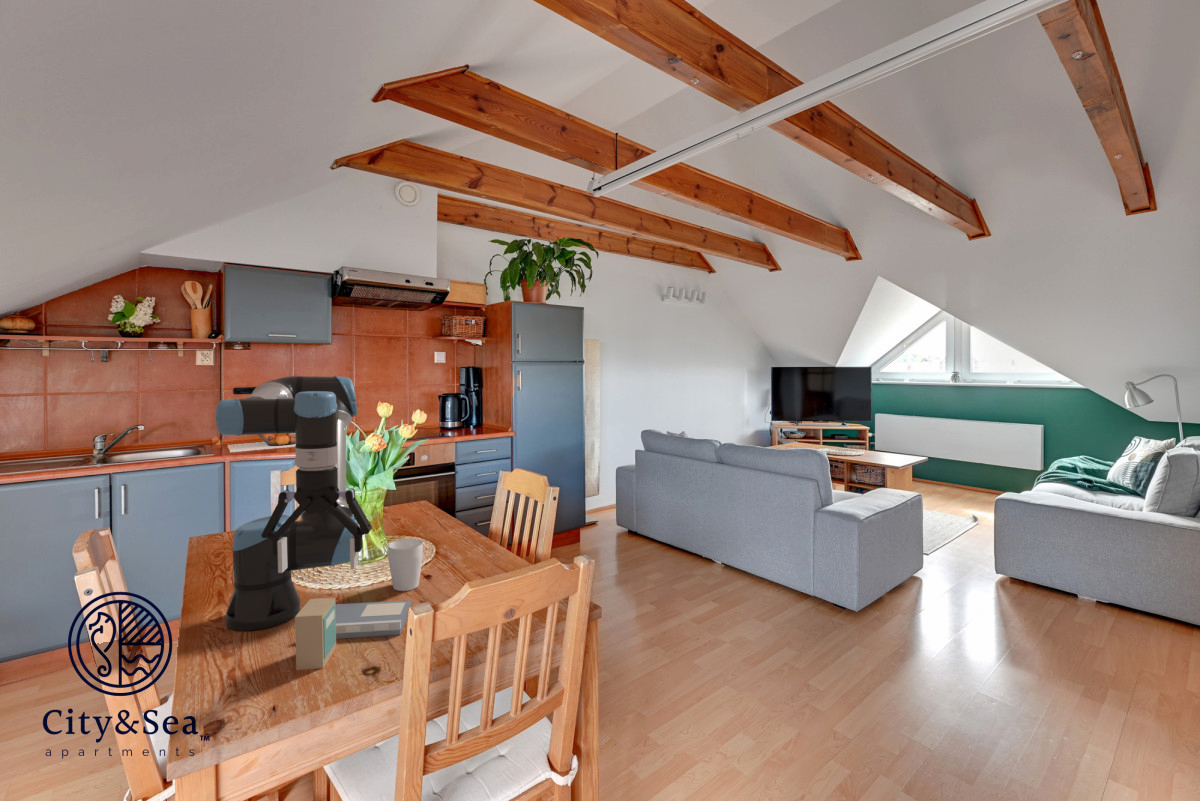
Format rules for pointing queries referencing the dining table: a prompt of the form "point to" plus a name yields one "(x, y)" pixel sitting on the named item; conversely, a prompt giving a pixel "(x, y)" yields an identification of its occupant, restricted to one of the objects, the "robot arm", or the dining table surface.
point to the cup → (405, 563)
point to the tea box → (315, 633)
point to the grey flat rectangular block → (371, 619)
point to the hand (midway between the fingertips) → (318, 568)
